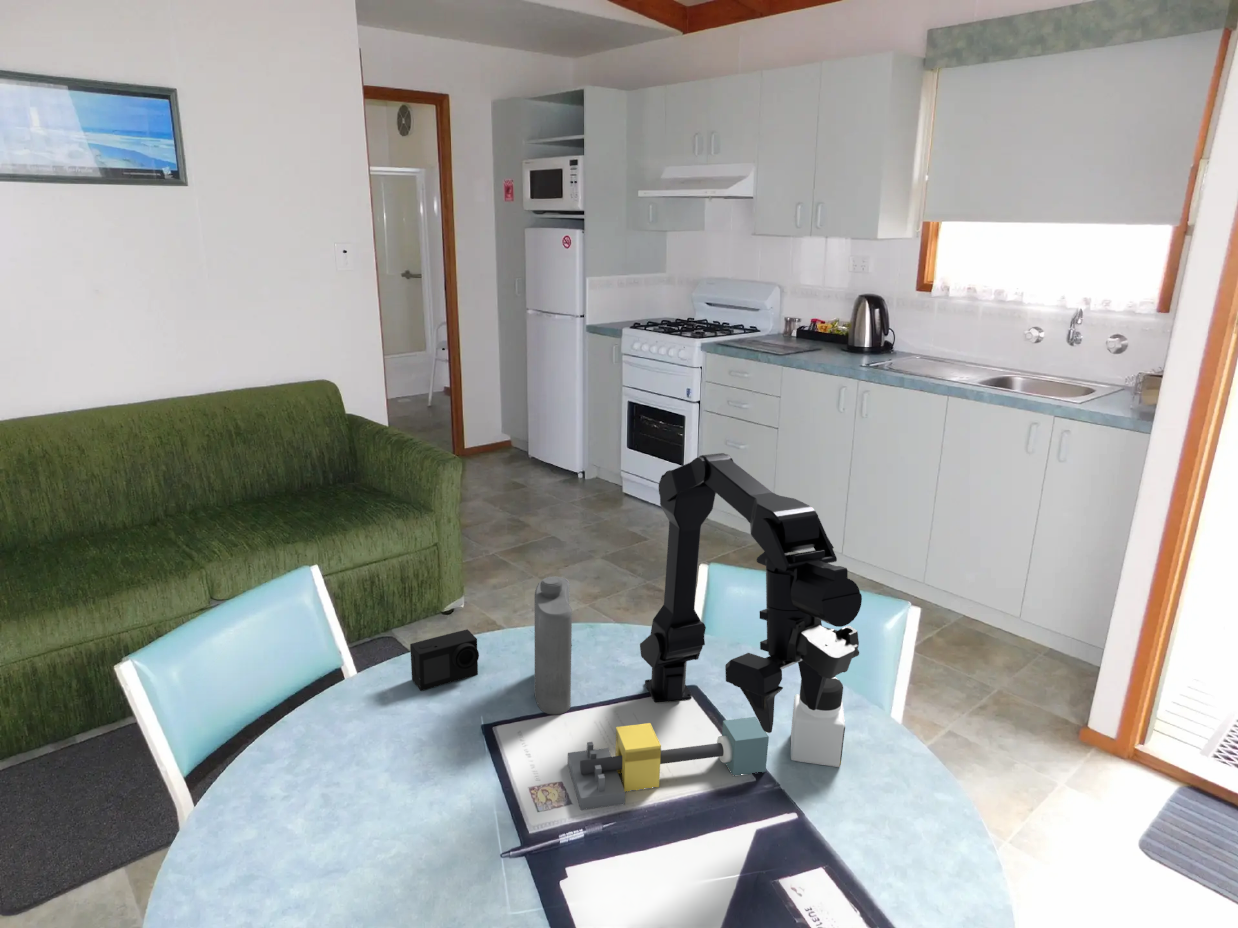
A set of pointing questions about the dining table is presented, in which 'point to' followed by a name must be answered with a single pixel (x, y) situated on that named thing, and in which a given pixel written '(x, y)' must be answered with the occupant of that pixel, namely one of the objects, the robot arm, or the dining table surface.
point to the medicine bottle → (819, 727)
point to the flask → (553, 645)
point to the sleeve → (638, 756)
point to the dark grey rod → (711, 750)
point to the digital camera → (444, 659)
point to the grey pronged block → (595, 780)
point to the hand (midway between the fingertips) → (790, 720)
